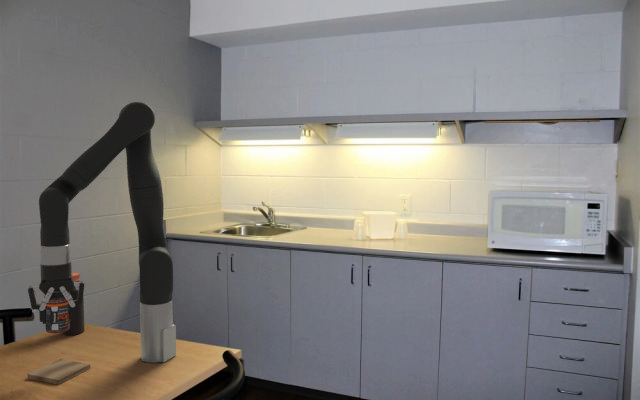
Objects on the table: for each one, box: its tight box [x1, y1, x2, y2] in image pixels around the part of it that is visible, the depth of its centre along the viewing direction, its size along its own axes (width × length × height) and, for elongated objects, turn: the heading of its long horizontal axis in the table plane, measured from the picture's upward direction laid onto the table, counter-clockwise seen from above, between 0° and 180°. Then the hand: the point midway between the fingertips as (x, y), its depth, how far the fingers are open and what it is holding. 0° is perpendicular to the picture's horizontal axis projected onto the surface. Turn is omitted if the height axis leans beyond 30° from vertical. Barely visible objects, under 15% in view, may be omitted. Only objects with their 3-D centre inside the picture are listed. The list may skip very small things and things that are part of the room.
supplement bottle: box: [45, 291, 70, 334], centre depth 142 cm, size 6×6×11 cm
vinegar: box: [62, 272, 85, 336], centre depth 175 cm, size 7×7×20 cm
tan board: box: [27, 358, 91, 385], centre depth 143 cm, size 11×11×1 cm
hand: (58, 321), depth 142 cm, fingers closed on supplement bottle, 6 cm apart
